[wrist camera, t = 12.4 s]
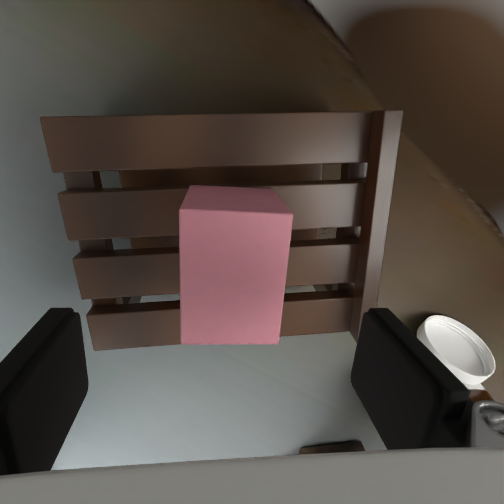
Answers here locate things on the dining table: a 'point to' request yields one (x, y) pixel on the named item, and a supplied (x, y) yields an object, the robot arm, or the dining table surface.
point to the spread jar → (459, 352)
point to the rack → (226, 175)
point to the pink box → (232, 265)
